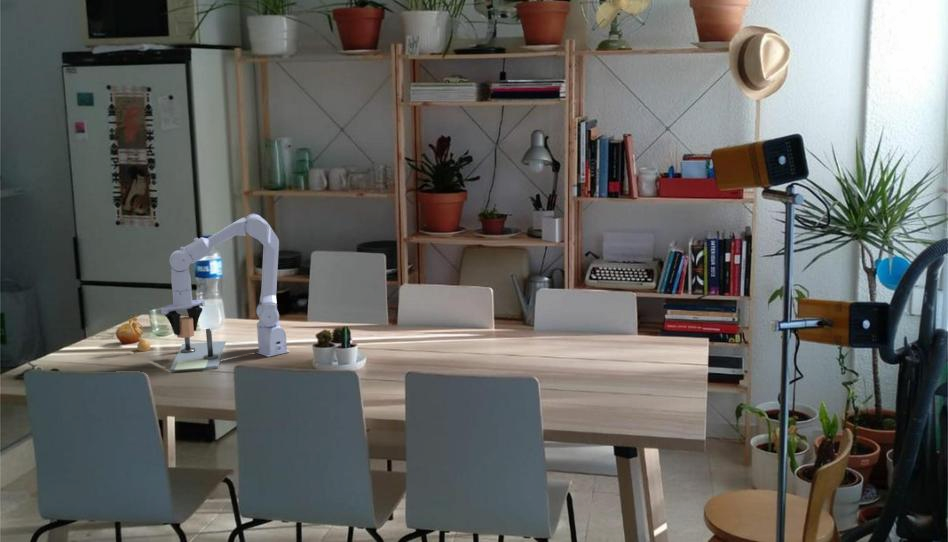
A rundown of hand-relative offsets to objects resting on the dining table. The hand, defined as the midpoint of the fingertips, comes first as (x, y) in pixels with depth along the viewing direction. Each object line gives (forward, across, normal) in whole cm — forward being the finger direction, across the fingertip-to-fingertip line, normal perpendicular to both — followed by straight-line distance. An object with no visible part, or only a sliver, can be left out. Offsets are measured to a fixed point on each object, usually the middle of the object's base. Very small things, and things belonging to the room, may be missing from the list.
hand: (185, 332), depth 317 cm
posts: (+9, -4, 0) cm, 10 cm away
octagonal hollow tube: (+1, 0, 0) cm, 1 cm away
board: (+9, -4, 0) cm, 10 cm away
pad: (+9, +4, +8) cm, 13 cm away
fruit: (+9, -1, -34) cm, 35 cm away
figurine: (+9, +3, -21) cm, 23 cm away
